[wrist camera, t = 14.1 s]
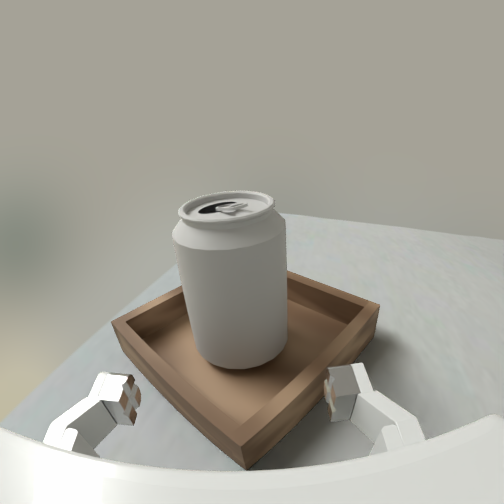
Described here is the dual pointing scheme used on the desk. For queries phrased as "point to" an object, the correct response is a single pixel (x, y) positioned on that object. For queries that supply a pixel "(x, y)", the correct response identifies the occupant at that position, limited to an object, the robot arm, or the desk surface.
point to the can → (234, 276)
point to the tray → (251, 379)
